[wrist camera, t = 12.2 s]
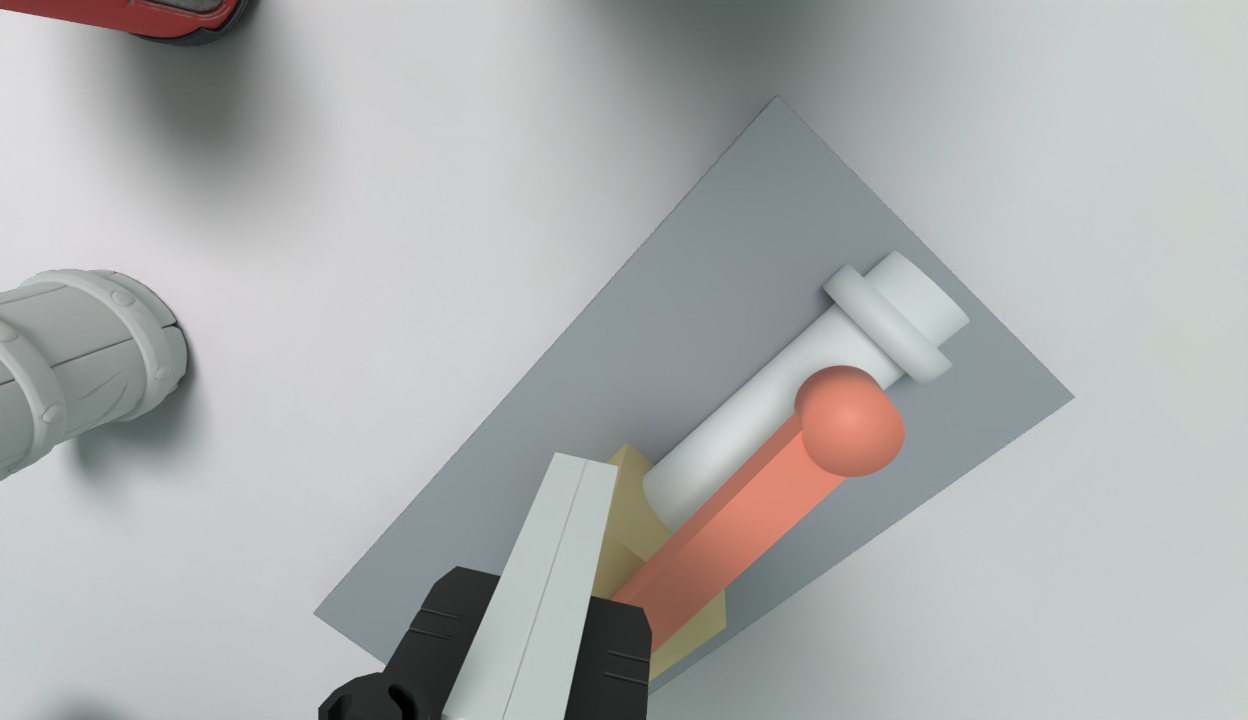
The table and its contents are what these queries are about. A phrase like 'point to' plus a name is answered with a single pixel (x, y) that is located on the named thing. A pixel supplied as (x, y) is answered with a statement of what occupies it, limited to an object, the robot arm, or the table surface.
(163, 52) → the table surface
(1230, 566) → the table surface
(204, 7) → the speaker
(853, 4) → the table surface
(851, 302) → the grey base plate
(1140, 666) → the table surface
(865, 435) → the lever
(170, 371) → the mug
